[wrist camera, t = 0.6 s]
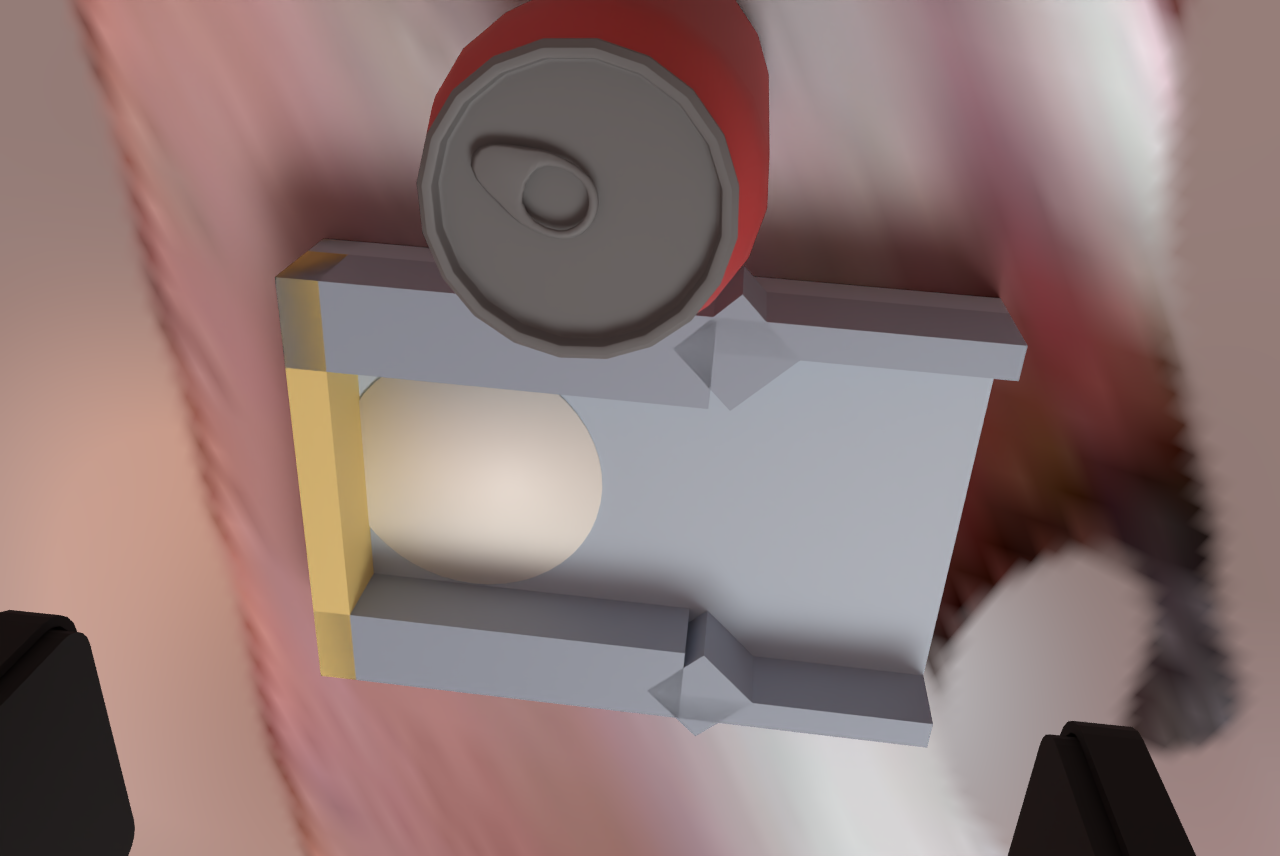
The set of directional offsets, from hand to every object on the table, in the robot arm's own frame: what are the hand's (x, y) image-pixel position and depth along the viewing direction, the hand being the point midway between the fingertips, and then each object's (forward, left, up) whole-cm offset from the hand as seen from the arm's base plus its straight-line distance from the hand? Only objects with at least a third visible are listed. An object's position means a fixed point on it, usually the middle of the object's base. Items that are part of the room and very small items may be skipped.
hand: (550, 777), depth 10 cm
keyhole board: (+9, -1, -22) cm, 24 cm away
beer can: (-3, -1, -22) cm, 22 cm away
